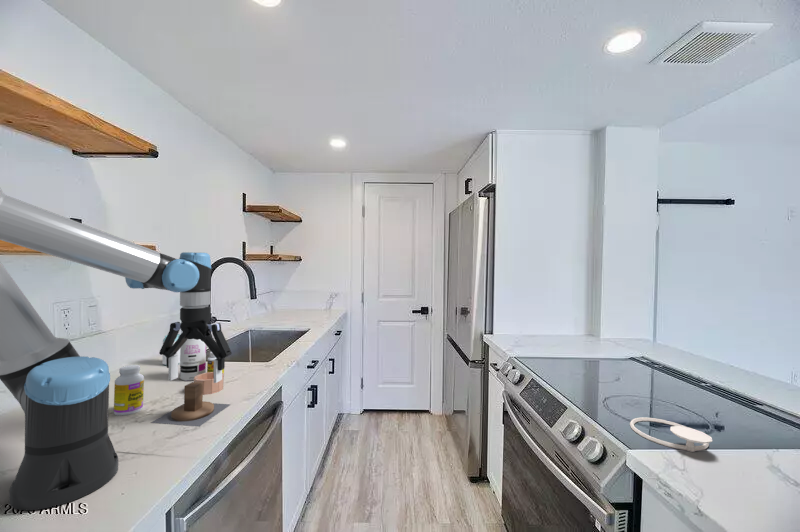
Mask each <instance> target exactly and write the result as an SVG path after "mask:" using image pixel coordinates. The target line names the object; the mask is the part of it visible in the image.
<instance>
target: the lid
mask: <svg viewBox="0 0 800 532" xmlns="http://www.w3.org/2000/svg"><path fill="white" fill-rule="evenodd" d="M183 393H184V394H183V395H184V397H183V398H184V399H183V400H184V401H183V404H184V405H183V404H181V405H179V406H177V407H174V408H173V409H172V410H173V411H172V410H171V411H172V412H171V418H172V419H173V420H175V421H192V420H197V419H200V418H203V417H206V416H208V415H210V414H211V413H212V412H213V411H214V404H213V403H214V402H210V401H206V400H205V401H204V400H203V383H199V382H194V381H193V382H192V381H191V382H189V383H188V384H186V385H184V391H183Z"/></svg>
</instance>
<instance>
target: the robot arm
mask: <svg viewBox="0 0 800 532" xmlns="http://www.w3.org/2000/svg"><path fill="white" fill-rule="evenodd" d="M0 241H2V242H6V243H10V244H13V245H16V246H20V247H24V248H26V249H30V250H33V251H36V252H40V253H41V254H42V253H43V254H46V255H49V256H53V257H56V258H60V259H63V260H67V261H69V262H73V263H77V264H81V265H83V266H86V267H90V268H93V269H97V270H100V271H104V272H106V273H110V274H114V275H118V276H119V277H123V278H124V279H125V283H126V285H127V287H128V288H130V289H133V290H134V289H141V290H145V289H157V290H162V291H163V290H165V291H171V292H173V293H179V306H180V307H181V308H179V321H176V322H171V323H170V325H169V331H168V333H167V337H166V339H165V341H164V343H163V342H162V346H161V348H160V350H159V355H160V356H163V355H165V356H166V365H165V366H166V368H167V369H168V382H169V381H170V382H171V381H174V380H176V379H178V378H179V364H178V355H175V354H177V351H178V350H179V349H180V348H181V346H182V345H183V344H184V343H185V342H186V340H187V339H196V340H199V339H200V340H201V341H203V342H204V343H205V344H206V348H208V349H209V351H210V352H212V353H213V354H214V356H215V357H216V358H217V359H215V360H214V383H217V382H219V381H220V380H222V370H223V369H224V370H225V367H226V363H225V362H226V361H225V360H226V358H227V357H229V356H232V354H233V353H232V351H231V348H230V346H229V343H228V342H227V339H226V338H225V336H224V333H223V331H222V325H221V323H220V322H217V323H215V324H214V323H213V324H211V322H210V320H211V312H212V311H211V309H212V308H211V306H210V305H211V301H212V300H211V298H212V297H211V293H212V291H211V290H212V288H211V279H212V277H211V276H212V275H211V274H212V261H211V255H210V253H208V252H189V251H188V252H186V251H185V252H184V251H183V252H181V253H180V254H179V257H178V258H175V257H172V256H170V255H167V254H164V253H161V252H159V251H157V250H153V249H151V248H149V247H147V246H143V245H141V244H138V243H135V242H132V241H130V240H127V239H125V238H123V237H120V236H117V235H114V234H112V233H108V232H107V231H102V230H100V229H97V228H95V227H92V226H90V225H87V224H84V223H81V222H80V221H76V220H74V219H71V218H68V217H66V216H63V215H60V214H57V213H55V212H52V211H50V210H46V209H44V208H42V207H38V206H36V205H33V204H31V203H28V202H26V201H23V200H19V199H17V198H14V197H12V196H9V195H7V194H5V192H3V190H2V188H1V187H0ZM180 321H181V322H180ZM180 330H181V333H180V336H179V337H178V339H177V341H176V342H175V343H174V341H175V339H176V337H177V335H178V334H179V332H180ZM173 343H174V344H173ZM172 345H173V346H172ZM174 355H175V356H174ZM109 367H110V366H109V364H108V363H107V361H105V360H104V359H101V358H99V357H94V356H93V357H92V356H91V357H89V356H85V355H84V356H82V355H81V356H80V354H79V352H78V351H77V350H76V348H75V347H74V345H73V344H72V343H71V341H70V340H69V339H68V338H61V337H56V336H55V335H54V334H53V333H52V331H51V329H50V328H49V327H48V326H47V324H46V323H45V322H44V319H42V317H41V316H40V314H39V313H38V311H37V310H36V308H35V307H34V306H33V305H32V304H31V302H30V300H29V299H28V298H27V297H26V294H24V292H23V291H22V290H21V288H20V286H19V285H18V284H17V283H16V281H15V280H14V278H13V277H12V275H11V274H10V273H9V272H8V270H7V269H6V267H5V266H4V265H3V264H2V261H0V381H1V382H2V383H3V385H4V386H5V387H6V388H7V389H8V391H9V393H11V395H12V396H13V398H15V400H16V401H17V402H18V404H19V405H20V408H21V409H22V411H23V413H24V454H23V458H22V461H21V463H20V465H19V467H18V470H17V472H16V476H15V478H14V480H13V482H12V484H11V486H10V488H9V490H8V491H9V496H8V499H9V500H8V501H9V502H8V503H9V506H10V507H11V508H13V509H15V510H19V511H35V510H43V509H48V508H52V506H53V507H56V506H55V505H57V506H60V505H64V504H67V503H70V502H72V501H73V502H74V501H75V500H78V499H80V498H82V497H85V496H87V495H89V494H91V493H93V492H95V491H96V490H98V489H100V488H102V487H103V486H105V485H106V484H108V483H109V482H110V481H111V480H112V479H113V478H114V477H115V476H116V474H117V473H118V471H119V456H118V454H117V452H116V449H115V448H114V445H113V442H112V441H111V438H110V436H109V409H110V408H109V407H110V406H109V405H110V403H109V402H110V401H109V398H110V382H111V372H110V369H109Z"/></svg>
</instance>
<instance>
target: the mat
mask: <svg viewBox="0 0 800 532" xmlns="http://www.w3.org/2000/svg"><path fill="white" fill-rule="evenodd" d="M212 403H213V404H214V411H213V412H212V413H211V414H210V415H208V416H206V417H203V418H200V419H197V420H192V421H175V420H173V419H172V418H171V412H172V411H173V410H174V409H172V410H171V411H168V412H166V413H165V414H163V415H162V416H160V417H157V418H156V419H154V420H153V421H151V422H150V424H160V425H174V426H175V425H176V426H189V427H199V428H200V427H201V426H202V425H204V424H205V423H207V422H208V421H210V420H211V419H212V418H214V417H215V416H217V415H218V414H220V413H221V412H223V411H224V410H225V409H227V408H228V407H229V406H231V403H229V404H228V403H216V402H212ZM182 405H184V403H182Z"/></svg>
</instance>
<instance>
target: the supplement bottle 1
mask: <svg viewBox="0 0 800 532" xmlns="http://www.w3.org/2000/svg"><path fill="white" fill-rule="evenodd" d="M140 372H141V365H139V364H129V365H125V366H121V367H119V372H118V373H119V374H120V375H119V376H117V377H116V378H115V380H114V396H113V414H114V416H115V415H116V416H128V415H133V414H136V413H137V412H140V411H142V410H143V408H144V395H145V394H144V391H145V389H144V388H145V387H144V386H145V385H144V384H145V376H144V375H143V374H142V373H140Z"/></svg>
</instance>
